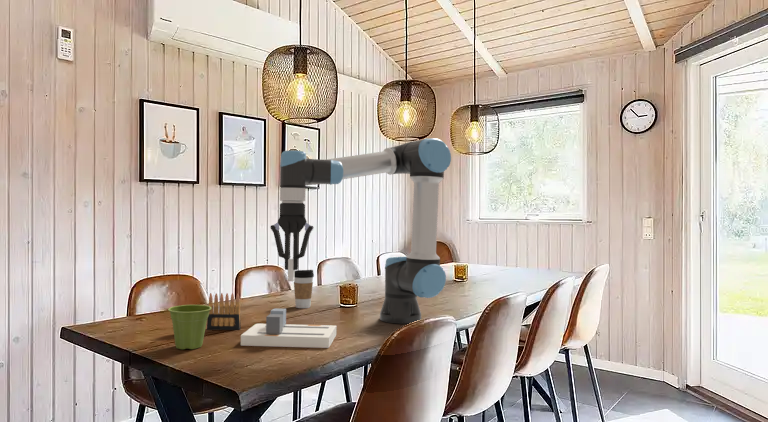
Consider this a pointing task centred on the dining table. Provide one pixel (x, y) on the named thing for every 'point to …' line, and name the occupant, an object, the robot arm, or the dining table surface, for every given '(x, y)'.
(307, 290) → the coffee cup
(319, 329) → the switch panel
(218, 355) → the dining table surface
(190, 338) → the plant pot
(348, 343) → the dining table surface
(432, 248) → the robot arm
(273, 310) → the tab back
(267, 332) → the tab front
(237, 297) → the ammunition clip
